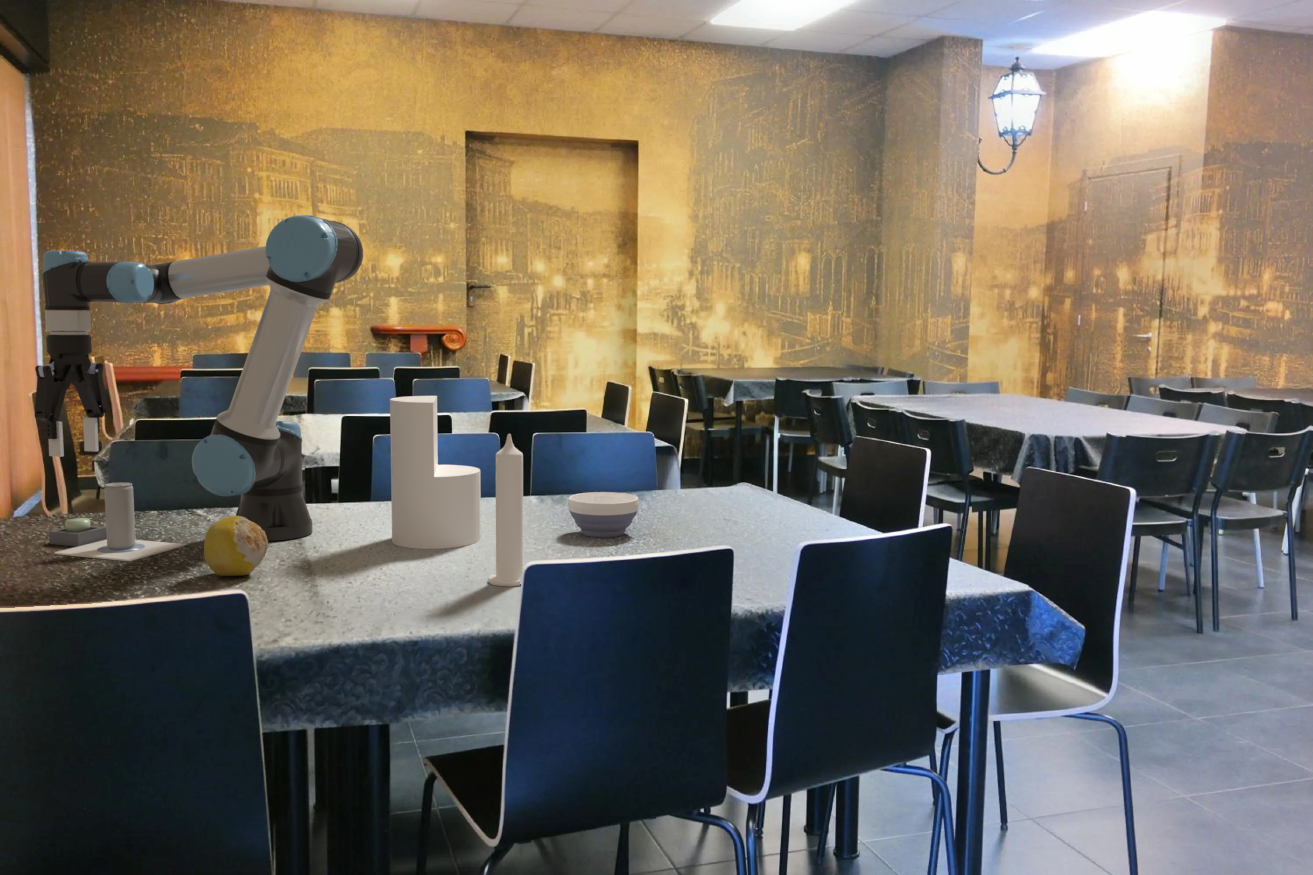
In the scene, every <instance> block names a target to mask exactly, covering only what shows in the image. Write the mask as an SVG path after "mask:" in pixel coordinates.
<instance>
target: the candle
mask: <svg viewBox="0 0 1313 875" xmlns="http://www.w3.org/2000/svg"><path fill="white" fill-rule="evenodd" d="M522 570H523V571H524V454H523V452H522V451H520V450H519V449H518V448H517V447H515V444H514V443H513V439H512V434H511V433H508V434H507V435H506V440H505V444H504V446H503V447H502V448H501V449H500V450H499V451H497V452H495V573H493V574H491V575H489V576H488V580H487V582H488V584H490V585H493V586H496V587H519V586H521V585H520V577H521V573H522Z"/></svg>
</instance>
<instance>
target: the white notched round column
mask: <svg viewBox="0 0 1313 875" xmlns="http://www.w3.org/2000/svg"><path fill="white" fill-rule="evenodd" d="M389 414H390V415H389V421H390V422H389V425H390V430H389V431H390V480H391V482H390V485H391V486H390V491H391V494H390V495H391V496H390V497H391V542H392V544H394V545H396V546H399V547H402V548H403V547H404V548H409V549H419V550H420V549H421V550H423V549H424V550H436V549H437V550H439V549H452V548H459V547H460V548H461V547H466V546H469V545H474V544H477V543H478V542H480V541H481V539H482V532H481V530H482V527H481V526H482V524H481V522H482V521H481V518H482V516H481V515H482V513H481V511H482V510H481V504H482V503H481V500H482V499H481V496H482V495H481V489H482V488H481V469H480V468H479V467H475V466H470V465H460V464H459V465H458V464H439V458H438V457H439V453H438V452H439V451H438V450H439V449H438V448H439V446H438V445H439V443H438V439H439V437H438V395H412V396H411V395H410V396H398V397H392V398H389Z"/></svg>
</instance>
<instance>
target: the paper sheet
mask: <svg viewBox="0 0 1313 875" xmlns="http://www.w3.org/2000/svg"><path fill="white" fill-rule="evenodd" d="M185 546H186V544H185V543H175V542H165V541H164V542H163V541H153V540H143V539H135V545H134V547H132V548H130V549H124V550H112V549H109V547H108V546H107V540H103V541H99V542H94V543H90V544H86V545H82V546H73V547H71V548H66V549H62V550H58V551H55V552H54V553H53V555H61V556H70V557H71V556H72V557H79V558H80V557H81V558H92V559H102V560H111V561H121V562H122V561H123V562H132V561H137V560H139V559H142V558H143V559H144V558H147V557H149V556H153V555H157V554H161V553H164V552H168V551H173V550H175V549H180V548H182V547H185Z"/></svg>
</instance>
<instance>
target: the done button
mask: <svg viewBox="0 0 1313 875" xmlns="http://www.w3.org/2000/svg"><path fill="white" fill-rule="evenodd" d="M64 524H65V525H64V526H65V528H66V532H83V531H88V530H91V529H90V526H91V519H90V518H87V517H82V518H81V517H77V518H70V519H66V520H65V523H64Z"/></svg>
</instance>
